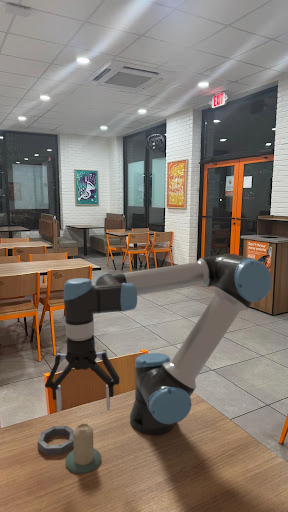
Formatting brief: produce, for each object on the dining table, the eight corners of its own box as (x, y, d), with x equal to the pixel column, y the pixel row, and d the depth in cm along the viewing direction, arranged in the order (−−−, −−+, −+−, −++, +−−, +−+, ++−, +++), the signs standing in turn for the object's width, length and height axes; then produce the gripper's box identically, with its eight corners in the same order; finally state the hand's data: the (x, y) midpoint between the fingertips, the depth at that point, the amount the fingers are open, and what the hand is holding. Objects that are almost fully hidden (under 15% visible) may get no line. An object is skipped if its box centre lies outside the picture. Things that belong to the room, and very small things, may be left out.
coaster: (102, 448, 107) (102, 446, 107) (99, 473, 97) (99, 471, 97) (68, 449, 107) (68, 447, 107) (62, 474, 97) (62, 472, 97)
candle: (89, 467, 99) (88, 433, 97) (71, 464, 100) (69, 431, 98) (96, 453, 104) (95, 421, 102) (78, 451, 105) (77, 419, 104)
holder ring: (77, 431, 115) (76, 425, 115) (71, 454, 104) (71, 447, 104) (43, 432, 114) (43, 426, 114) (35, 455, 104) (34, 448, 104)
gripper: (126, 329, 101) (128, 398, 104) (37, 332, 100) (42, 403, 103) (126, 339, 93) (128, 413, 97) (30, 342, 92) (35, 418, 96)
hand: (84, 408), depth 100 cm, fingers open, 13 cm apart
